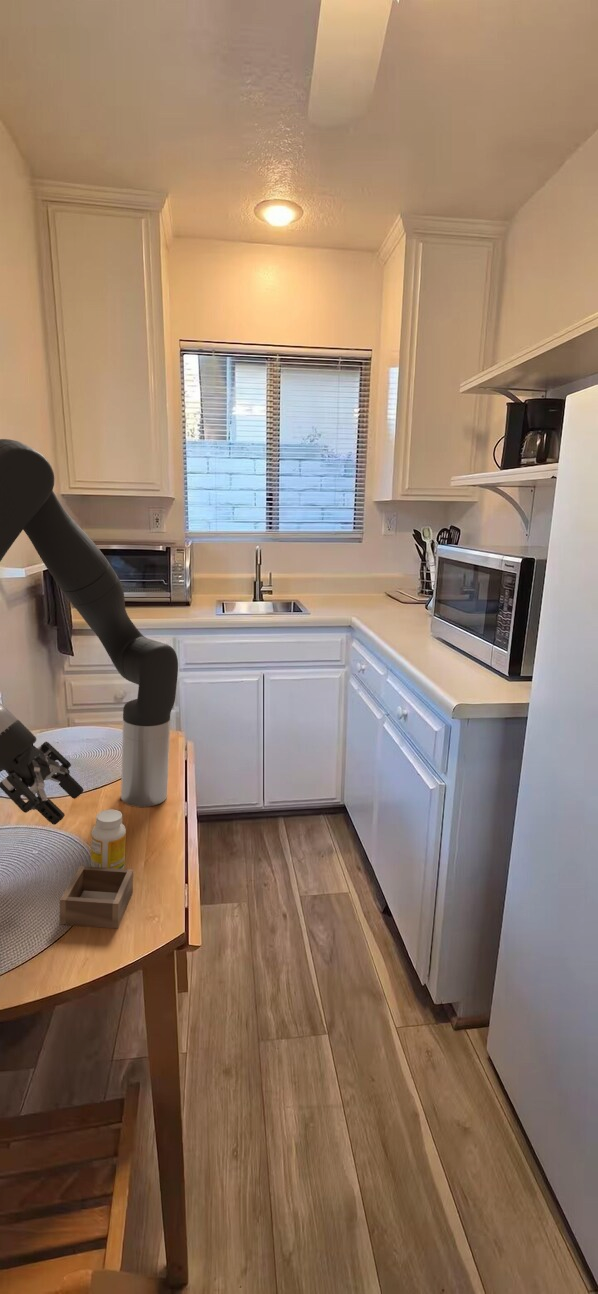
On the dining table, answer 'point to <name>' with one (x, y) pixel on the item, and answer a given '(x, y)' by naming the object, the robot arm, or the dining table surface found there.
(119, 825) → the supplement bottle
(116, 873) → the holder
